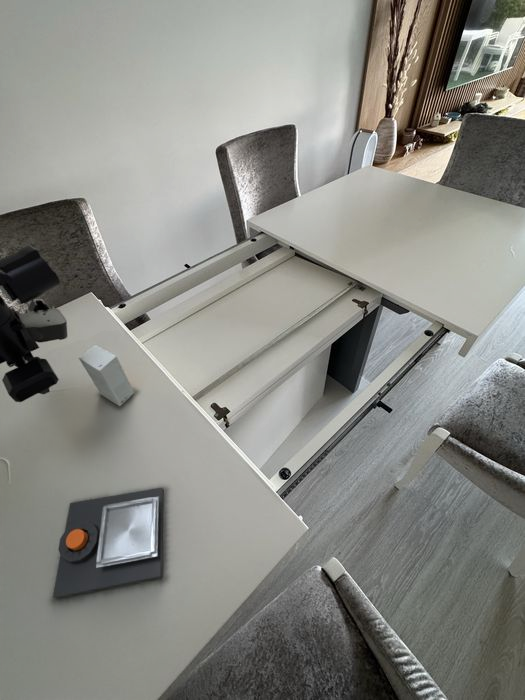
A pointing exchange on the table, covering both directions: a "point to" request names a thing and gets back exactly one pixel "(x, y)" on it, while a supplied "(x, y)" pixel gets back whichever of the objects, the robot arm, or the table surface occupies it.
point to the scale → (81, 564)
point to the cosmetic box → (107, 374)
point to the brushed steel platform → (128, 532)
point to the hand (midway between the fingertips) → (41, 382)
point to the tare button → (76, 539)
